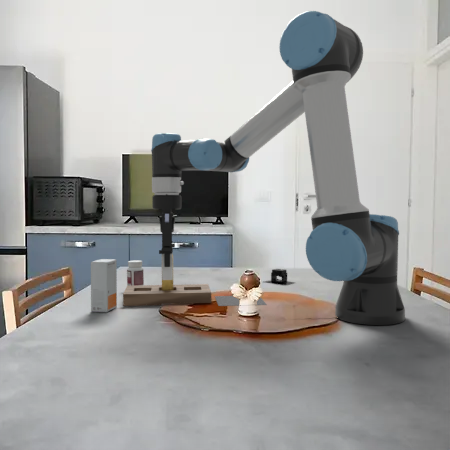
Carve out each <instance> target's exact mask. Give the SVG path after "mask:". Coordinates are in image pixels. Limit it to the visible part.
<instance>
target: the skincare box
mask: <svg viewBox="0 0 450 450" xmlns="http://www.w3.org/2000/svg"><path fill="white" fill-rule="evenodd" d="M117 267H118V266H117V259H112V258H108V259H107V258H101V259H96V260H94V261H91V262H90V312H93V313H95V312H96V313H108V312H110V311H111V310H114V309H116V308H117V307H118V305H117V303H118V299H117V297H118V293H117V291H118V290H117V287H118V285H117V284H118V283H117V281H118V279H117V275H118V274H117V272H118V271H117V270H118V269H117Z"/></svg>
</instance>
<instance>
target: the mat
mask: <svg viewBox="0 0 450 450" xmlns="http://www.w3.org/2000/svg"><path fill="white" fill-rule="evenodd" d="M233 296H234V295H219V296H218V295H217V296H216V295H215V296H214V299H215V301H216V304H217V305H218V307H228V306H229V307H231V306H232V307H235V306H238V307H239V299H237V298H235V297H233ZM256 306H267V303H266V301H264V300H263V298H262V297H261V298H260V299H259V300H258V301H257V305H256Z"/></svg>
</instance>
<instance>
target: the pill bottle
mask: <svg viewBox="0 0 450 450" xmlns="http://www.w3.org/2000/svg"><path fill="white" fill-rule="evenodd" d="M127 266H128V267H127V269H126V287H127V286H135V285H145V283H144V279H145V278H144V267H142V266H143V260H137V259H136V260H129V261H127Z"/></svg>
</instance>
